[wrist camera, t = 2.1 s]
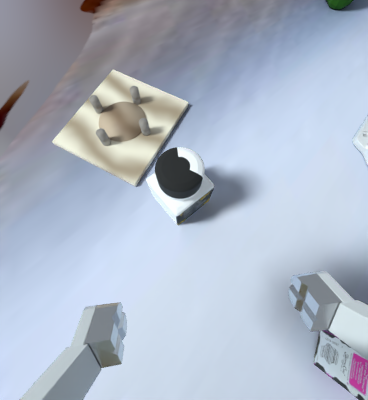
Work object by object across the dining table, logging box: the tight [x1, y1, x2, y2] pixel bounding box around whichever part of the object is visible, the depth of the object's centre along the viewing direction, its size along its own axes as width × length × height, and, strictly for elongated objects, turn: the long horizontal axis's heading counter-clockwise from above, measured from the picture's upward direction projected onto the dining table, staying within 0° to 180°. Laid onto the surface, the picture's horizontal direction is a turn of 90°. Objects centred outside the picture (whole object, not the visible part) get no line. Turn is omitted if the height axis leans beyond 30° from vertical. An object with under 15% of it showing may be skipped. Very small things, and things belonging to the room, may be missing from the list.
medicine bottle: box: [146, 147, 214, 225], centre depth 29 cm, size 7×7×12 cm
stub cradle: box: [52, 70, 188, 187], centre depth 38 cm, size 20×18×4 cm
